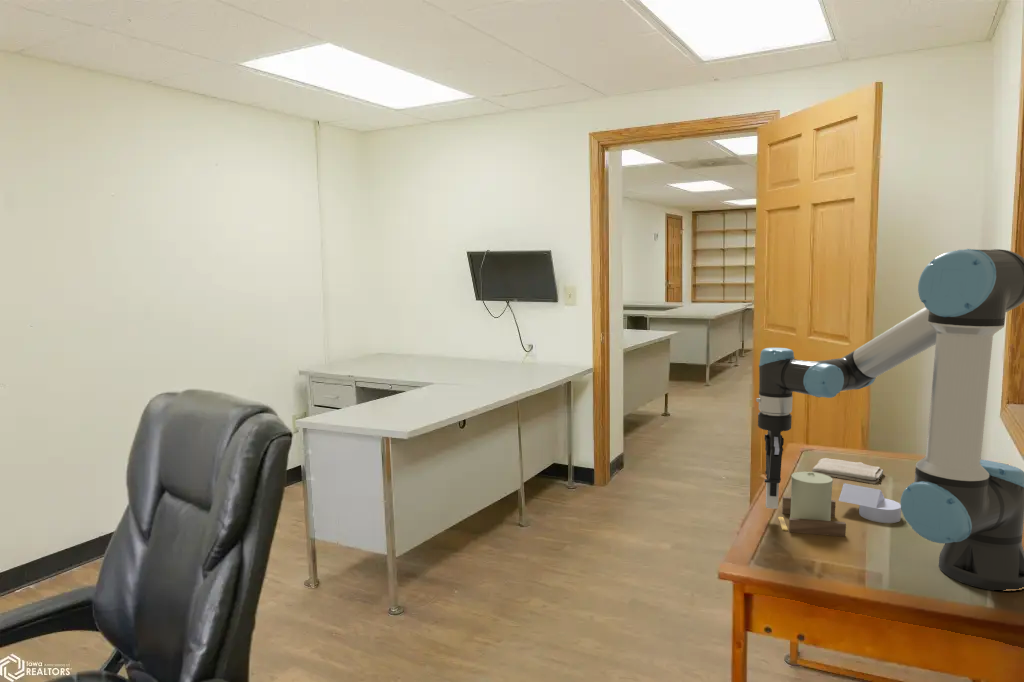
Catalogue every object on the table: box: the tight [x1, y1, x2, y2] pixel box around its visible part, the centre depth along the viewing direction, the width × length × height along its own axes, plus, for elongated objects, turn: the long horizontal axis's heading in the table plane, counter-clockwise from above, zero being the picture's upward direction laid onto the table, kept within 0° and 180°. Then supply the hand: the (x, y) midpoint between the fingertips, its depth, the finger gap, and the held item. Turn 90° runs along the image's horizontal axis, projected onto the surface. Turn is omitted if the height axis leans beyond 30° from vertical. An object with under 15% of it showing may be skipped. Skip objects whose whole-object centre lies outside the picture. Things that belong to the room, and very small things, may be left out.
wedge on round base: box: [838, 482, 902, 524], centre depth 170 cm, size 9×7×13 cm
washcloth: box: [811, 457, 884, 485], centre depth 202 cm, size 12×18×3 cm, turn 55°
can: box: [789, 471, 834, 521], centre depth 164 cm, size 9×9×12 cm
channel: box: [777, 496, 847, 538], centre depth 165 cm, size 13×14×4 cm
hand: (771, 507), depth 166 cm, fingers closed
